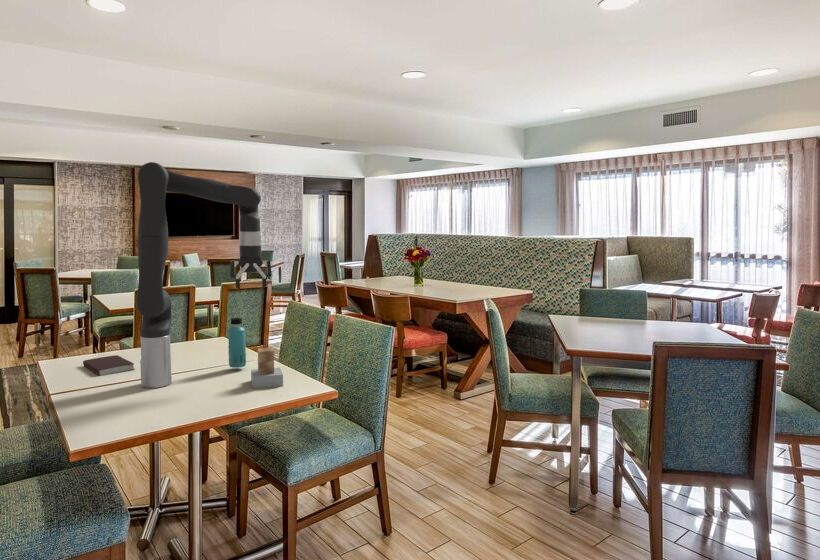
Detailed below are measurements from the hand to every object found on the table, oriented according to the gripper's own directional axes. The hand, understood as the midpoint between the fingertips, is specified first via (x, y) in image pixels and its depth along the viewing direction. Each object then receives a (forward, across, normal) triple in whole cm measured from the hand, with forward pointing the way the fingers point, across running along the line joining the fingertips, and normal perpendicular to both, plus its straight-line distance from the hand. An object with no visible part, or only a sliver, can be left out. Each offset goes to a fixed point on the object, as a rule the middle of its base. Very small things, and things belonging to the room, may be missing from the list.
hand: (251, 288), depth 196 cm
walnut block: (+28, +4, -12) cm, 31 cm away
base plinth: (+32, +4, -12) cm, 35 cm away
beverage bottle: (+32, -5, +10) cm, 34 cm away
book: (+33, -52, +27) cm, 67 cm away
